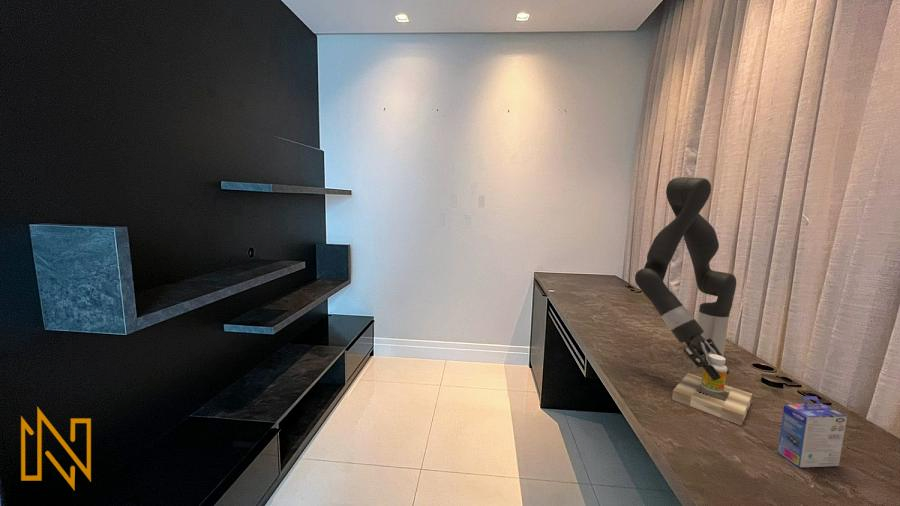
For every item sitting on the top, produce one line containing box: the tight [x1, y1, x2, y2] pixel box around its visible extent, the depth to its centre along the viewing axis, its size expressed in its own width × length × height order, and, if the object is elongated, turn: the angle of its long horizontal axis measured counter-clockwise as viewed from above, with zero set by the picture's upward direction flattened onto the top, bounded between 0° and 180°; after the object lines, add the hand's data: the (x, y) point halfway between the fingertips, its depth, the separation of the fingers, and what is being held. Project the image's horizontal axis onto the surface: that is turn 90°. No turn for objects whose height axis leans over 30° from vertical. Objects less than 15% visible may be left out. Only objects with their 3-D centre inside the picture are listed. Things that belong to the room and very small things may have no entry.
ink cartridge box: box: [777, 395, 848, 468], centre depth 78 cm, size 10×6×14 cm, turn 95°
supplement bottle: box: [701, 354, 728, 392], centre depth 100 cm, size 5×5×10 cm
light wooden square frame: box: [671, 372, 753, 426], centre depth 101 cm, size 16×16×3 cm
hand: (721, 376), depth 99 cm, fingers closed on supplement bottle, 5 cm apart
